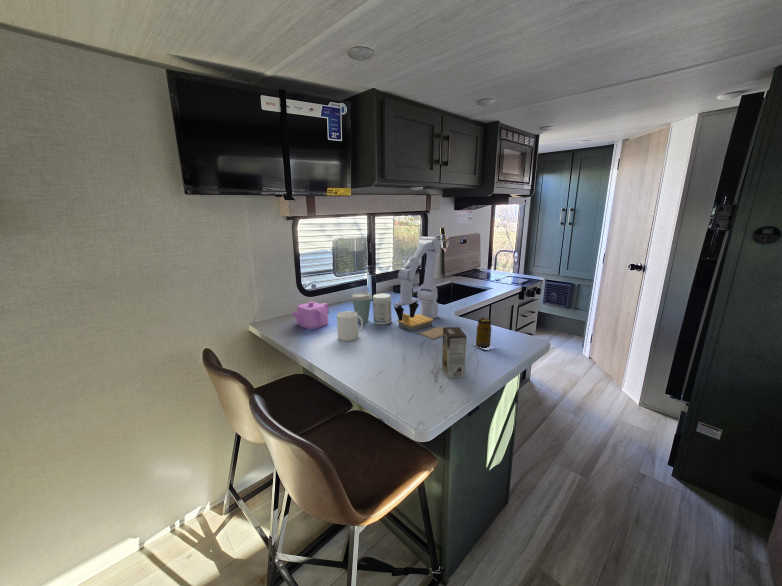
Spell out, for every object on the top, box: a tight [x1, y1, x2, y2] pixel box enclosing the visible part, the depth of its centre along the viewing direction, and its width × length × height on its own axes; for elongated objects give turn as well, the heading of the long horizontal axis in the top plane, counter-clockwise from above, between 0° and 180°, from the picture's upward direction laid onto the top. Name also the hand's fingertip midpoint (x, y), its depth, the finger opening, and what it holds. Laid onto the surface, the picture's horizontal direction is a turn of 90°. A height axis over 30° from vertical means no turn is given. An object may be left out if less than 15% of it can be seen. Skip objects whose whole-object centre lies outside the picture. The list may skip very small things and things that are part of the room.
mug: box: [336, 310, 364, 342], centre depth 154 cm, size 10×12×12 cm
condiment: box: [471, 317, 492, 351], centre depth 143 cm, size 7×8×12 cm
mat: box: [419, 326, 444, 340], centre depth 160 cm, size 14×9×1 cm, turn 128°
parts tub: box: [398, 321, 433, 333], centre depth 170 cm, size 14×10×3 cm
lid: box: [396, 312, 435, 327], centre depth 169 cm, size 15×11×6 cm
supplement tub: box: [372, 293, 393, 326], centre depth 174 cm, size 10×10×15 cm
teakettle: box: [291, 300, 330, 330], centre depth 172 cm, size 17×17×12 cm
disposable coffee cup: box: [351, 292, 372, 324], centre depth 176 cm, size 11×11×15 cm
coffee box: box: [441, 326, 467, 379], centre depth 120 cm, size 9×6×16 cm
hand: (406, 318), depth 165 cm, fingers open, 7 cm apart
